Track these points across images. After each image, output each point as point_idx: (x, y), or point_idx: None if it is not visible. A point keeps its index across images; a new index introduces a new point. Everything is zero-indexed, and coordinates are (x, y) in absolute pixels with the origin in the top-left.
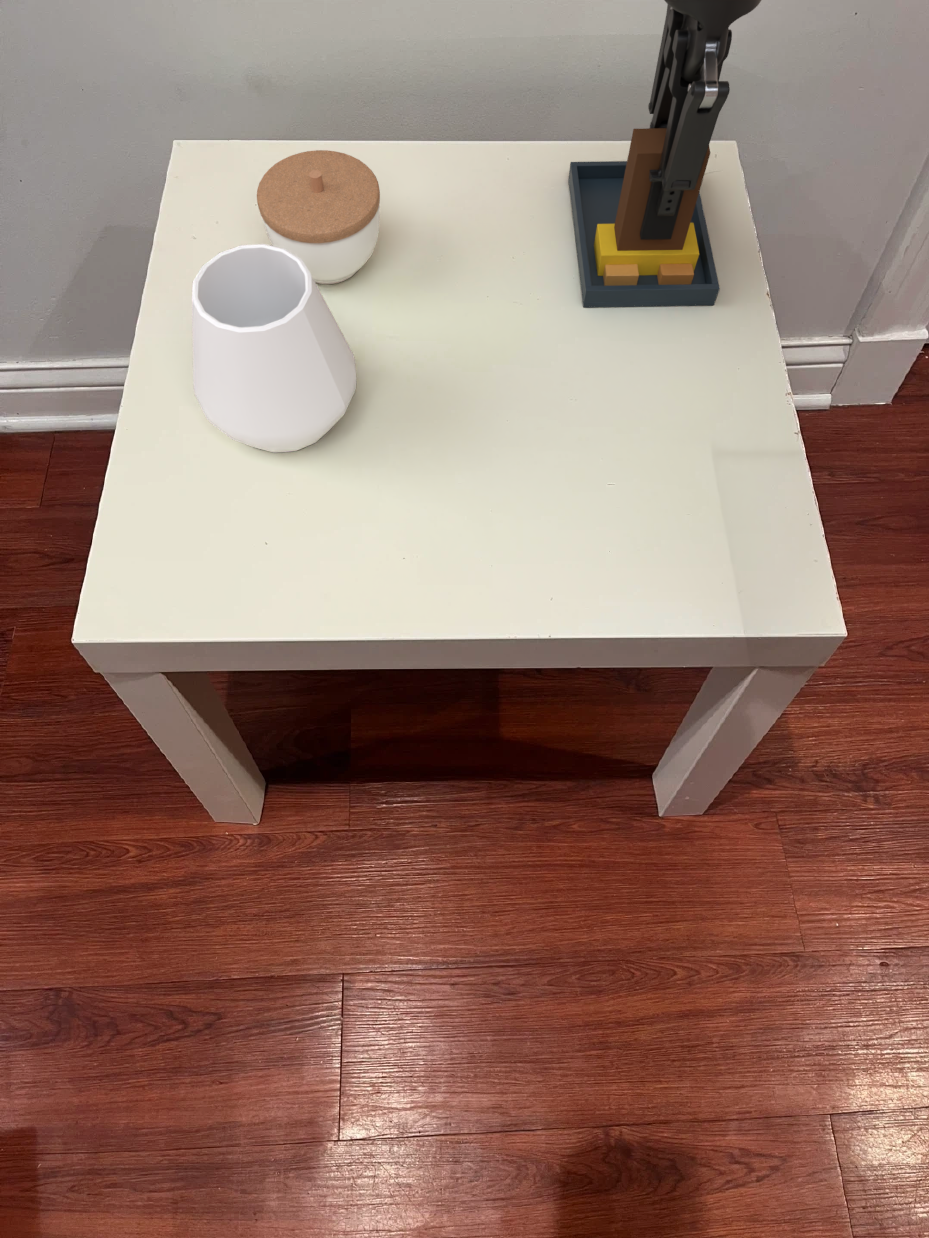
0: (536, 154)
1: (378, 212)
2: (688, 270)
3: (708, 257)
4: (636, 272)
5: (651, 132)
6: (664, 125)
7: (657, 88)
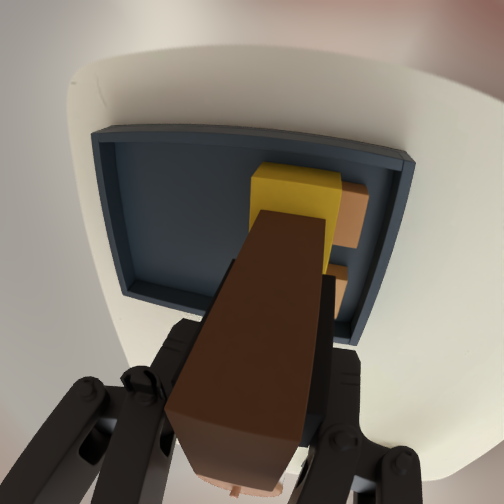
0: (107, 294)
1: None
2: (357, 202)
3: (332, 156)
4: (340, 282)
5: (203, 469)
6: (161, 433)
7: (99, 468)
